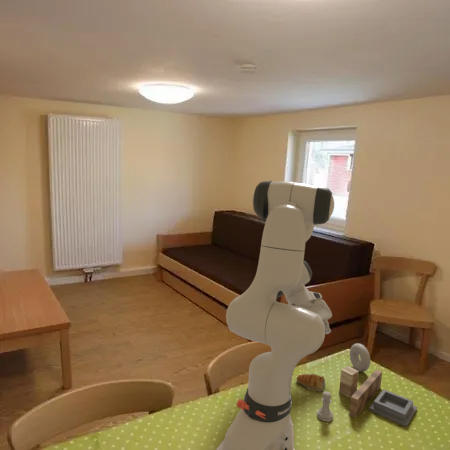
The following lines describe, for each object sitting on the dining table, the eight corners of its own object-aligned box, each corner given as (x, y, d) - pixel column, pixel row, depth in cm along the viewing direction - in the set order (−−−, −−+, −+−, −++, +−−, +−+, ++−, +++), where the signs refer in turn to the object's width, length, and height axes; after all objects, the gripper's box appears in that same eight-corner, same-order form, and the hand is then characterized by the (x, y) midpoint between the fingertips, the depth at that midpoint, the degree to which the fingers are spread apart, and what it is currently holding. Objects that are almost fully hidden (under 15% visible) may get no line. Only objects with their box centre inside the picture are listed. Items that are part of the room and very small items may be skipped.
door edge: (355, 418, 112) (357, 399, 111) (349, 414, 113) (351, 396, 112) (380, 387, 129) (382, 371, 128) (374, 385, 130) (376, 369, 129)
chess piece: (335, 421, 110) (338, 396, 109) (320, 422, 109) (322, 397, 108) (329, 411, 115) (331, 387, 113) (314, 412, 114) (316, 387, 113)
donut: (370, 376, 135) (373, 350, 134) (362, 377, 134) (365, 351, 133) (354, 362, 145) (356, 338, 143) (346, 363, 144) (348, 339, 142)
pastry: (294, 386, 127) (295, 376, 127) (298, 377, 134) (299, 366, 133) (322, 393, 124) (323, 383, 123) (325, 383, 130) (326, 373, 130)
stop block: (349, 397, 122) (352, 375, 121) (339, 391, 125) (341, 369, 124) (356, 393, 125) (358, 371, 123) (345, 387, 128) (348, 366, 126)
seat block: (406, 427, 109) (407, 417, 109) (368, 410, 116) (369, 401, 116) (416, 409, 117) (417, 400, 117) (380, 395, 124) (381, 386, 124)
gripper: (287, 303, 129) (307, 340, 123) (323, 292, 142) (343, 326, 136) (276, 311, 133) (296, 348, 128) (312, 300, 146) (331, 333, 140)
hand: (320, 336), depth 132 cm, fingers open, 8 cm apart
